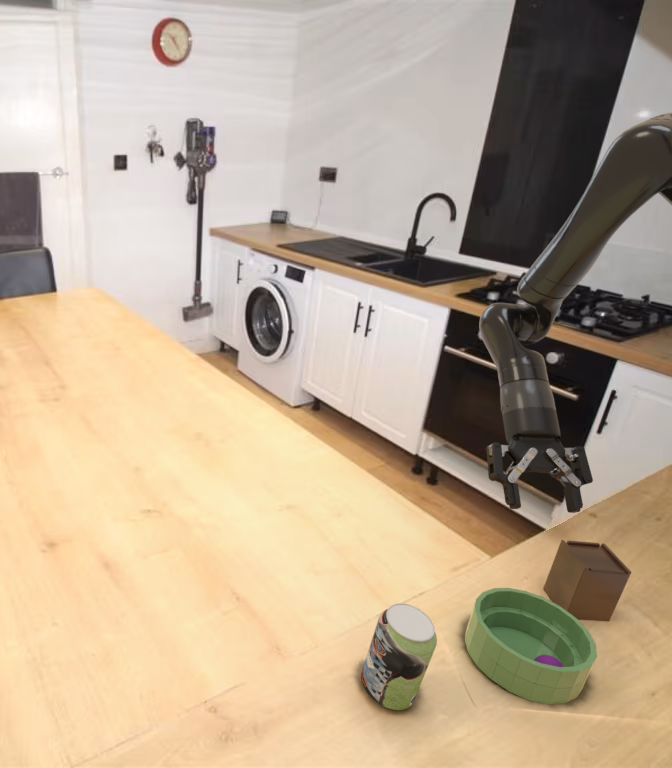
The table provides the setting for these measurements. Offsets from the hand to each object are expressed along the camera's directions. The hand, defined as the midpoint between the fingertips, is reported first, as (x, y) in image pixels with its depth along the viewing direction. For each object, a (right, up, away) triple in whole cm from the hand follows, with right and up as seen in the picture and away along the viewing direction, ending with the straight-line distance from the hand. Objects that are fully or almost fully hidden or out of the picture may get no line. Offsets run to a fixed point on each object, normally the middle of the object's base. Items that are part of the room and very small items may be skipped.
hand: (544, 510), depth 85 cm
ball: (-14, -14, -21) cm, 29 cm away
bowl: (-15, -15, -17) cm, 27 cm away
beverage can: (-33, -17, -21) cm, 43 cm away
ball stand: (-2, -11, -9) cm, 15 cm away
